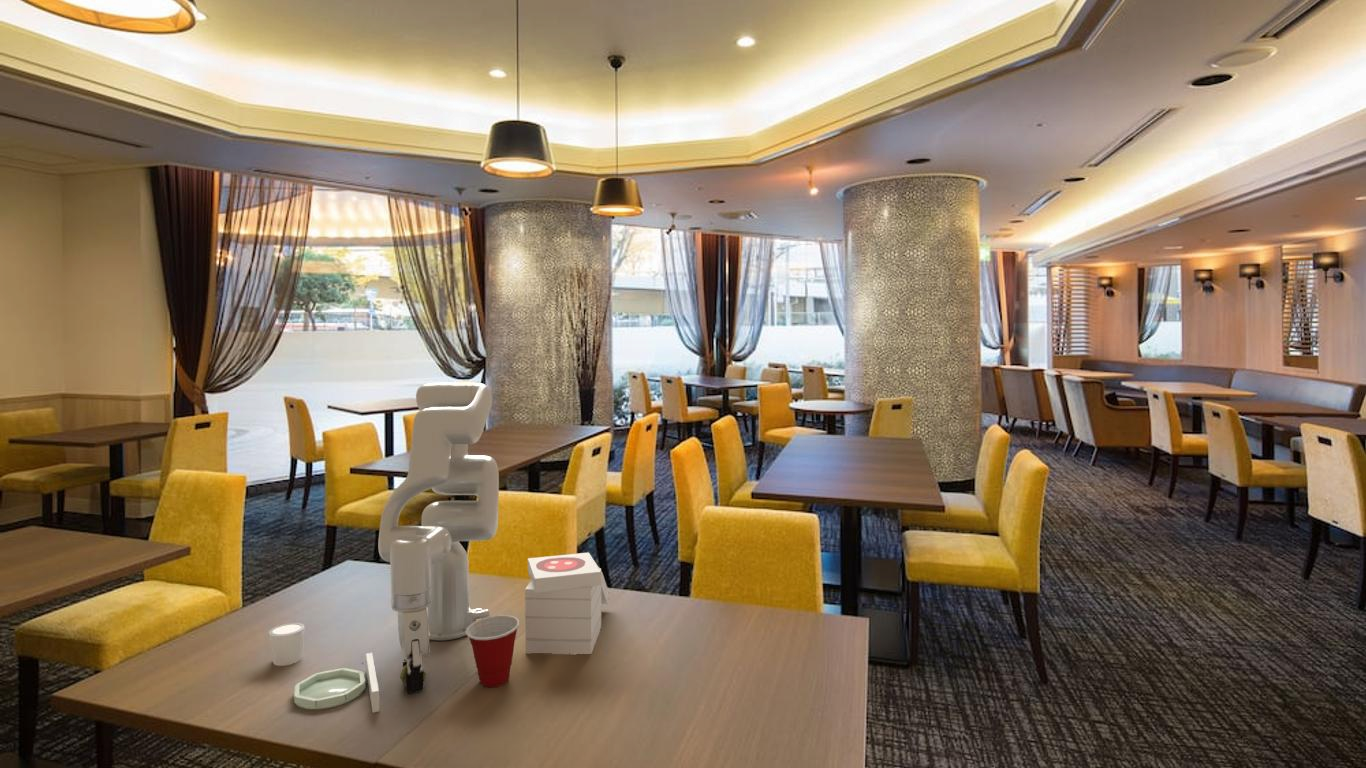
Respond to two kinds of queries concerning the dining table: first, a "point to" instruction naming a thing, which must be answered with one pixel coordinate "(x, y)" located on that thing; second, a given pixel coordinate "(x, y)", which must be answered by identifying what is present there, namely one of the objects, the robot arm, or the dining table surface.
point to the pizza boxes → (564, 604)
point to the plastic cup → (493, 647)
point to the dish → (329, 688)
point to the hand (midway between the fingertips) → (413, 684)
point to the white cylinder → (287, 643)
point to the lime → (404, 671)
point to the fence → (372, 682)
